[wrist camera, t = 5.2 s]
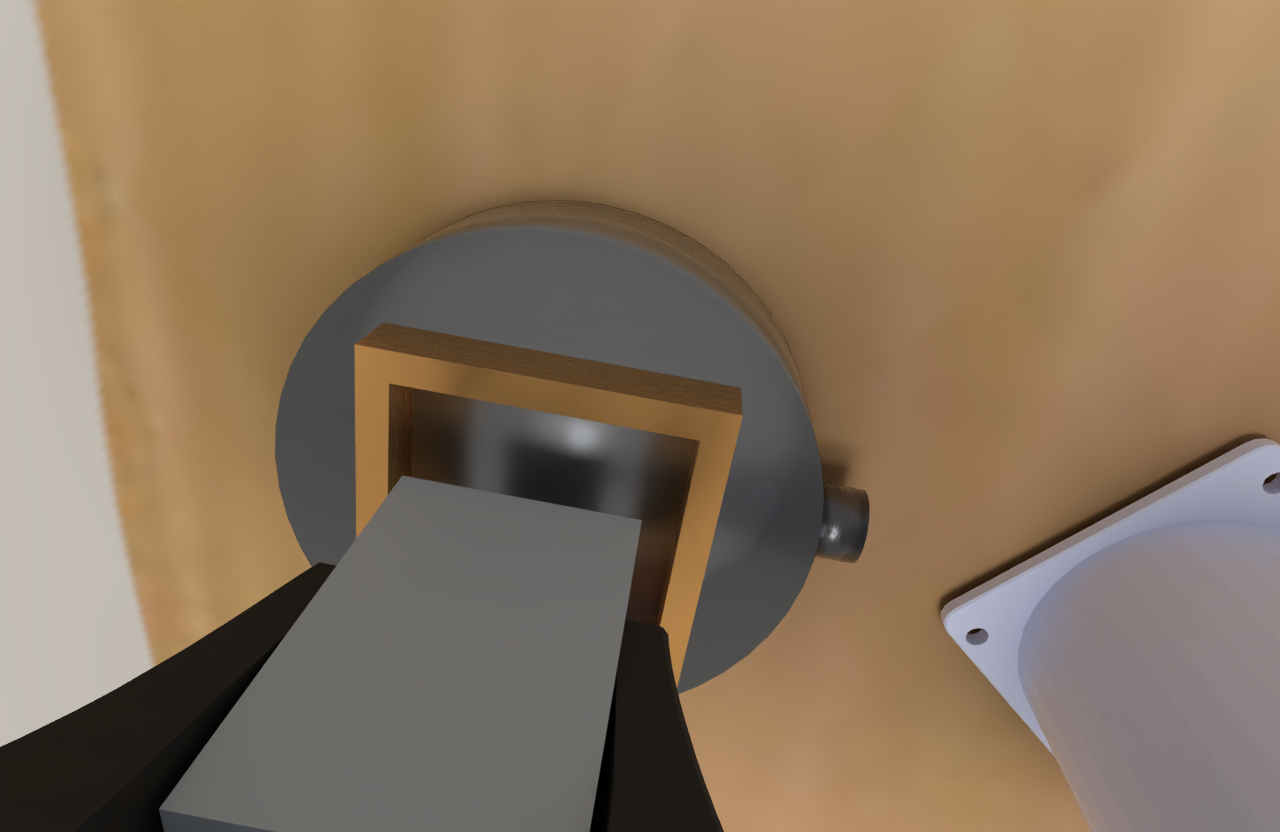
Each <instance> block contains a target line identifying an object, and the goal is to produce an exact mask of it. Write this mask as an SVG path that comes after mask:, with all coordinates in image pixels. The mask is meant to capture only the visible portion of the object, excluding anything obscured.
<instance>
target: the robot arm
mask: <svg viewBox="0 0 1280 832" xmlns="http://www.w3.org/2000/svg"><path fill="white" fill-rule="evenodd" d="M1275 473H1278V474H1277V476H1276V478H1275V479H1274V480H1272V481H1271V482H1270V483H1267V484H1264V485H1263V483H1264V481H1265V479H1266V478H1267V477H1269V476H1270V475H1271V474H1275ZM335 567H336V565H331V564H326V563H321V562H319V563H318V564H316V565H314V566H313V567H311V568H310V569H308V570H306V571H305V572H303V573H302V574H300V575H299V576H297V577H296V578H294V579H293V580H291V581H290V582H288V583H286V584H285V585H283V586H282V587H280V588H279V589H277V590H276V591H274V592H273V593H271V594H270V595H268V596H267V597H265V598H264V599H262V600H261V601H259V602H258V603H256V604H255V605H253V606H252V607H250V608H248V609H247V610H245V611H244V612H242V613H241V614H239V615H238V616H236V617H235V618H233V619H232V620H230V621H228V622H227V623H225V624H224V625H222V626H221V627H219V628H217V629H216V630H214V631H213V632H211V633H209V634H208V635H206V636H205V637H203V638H202V639H200V640H198V641H197V642H195V643H194V644H192V645H191V646H189V647H187V648H186V649H184V650H182V651H181V652H179V653H177V654H176V655H174V656H172V657H170V658H169V659H167V660H165V661H164V662H162V663H160V664H158V665H157V666H155V667H153V668H152V669H150V670H148V671H146V672H145V673H143V674H141V675H140V676H138V677H136V678H134V679H133V680H131V681H129V682H128V683H126V684H124V685H122V686H121V687H119V688H117V689H115V690H113V691H112V692H110V693H108V694H106V695H104V696H102V697H101V698H99V699H97V700H95V701H93V702H91V703H89V704H87V705H85V706H83V707H81V708H80V709H78V710H76V711H74V712H72V713H70V714H68V715H66V716H64V717H62V718H60V719H58V720H56V721H54V722H52V723H50V724H48V725H45V726H43V727H42V728H40V729H38V730H36V731H33V732H31V733H29V734H27V735H25V736H23V737H21V738H19V739H17V740H15V741H12V742H10V743H8V744H6V745H4V746H1V747H0V832H164V829H163V825H162V820H161V816H160V811H159V808H160V807H161V806H162V804H163V803H164V802H165V800H166V799H167V797H168V796H169V795H170V793H171V792H172V791H173V789H174V788H175V786H176V785H177V784H178V782H179V781H180V780H181V778H182V777H183V776H184V774H185V773H186V771H187V770H188V769H189V767H190V766H191V765H192V763H193V762H194V760H195V759H196V758H197V756H198V755H199V754H200V752H201V751H202V749H203V748H204V747H205V745H206V744H207V743H208V741H209V740H210V739H211V737H212V736H213V734H214V733H215V732H216V730H217V729H218V728H219V726H220V725H221V723H222V722H223V721H224V719H225V718H226V717H227V715H228V714H229V712H230V711H231V710H232V708H233V707H234V706H235V704H236V703H237V702H238V700H239V699H240V697H241V696H242V695H243V693H244V692H245V691H246V689H247V688H248V686H249V685H250V684H251V682H252V681H253V680H254V678H255V677H256V675H257V674H258V673H259V671H260V670H261V669H262V667H263V666H264V665H265V663H266V662H267V660H268V659H269V658H270V656H271V655H272V654H273V652H274V651H275V649H276V648H277V647H278V645H279V644H280V643H281V641H282V640H283V638H284V637H285V636H286V634H287V633H288V632H289V630H290V629H291V628H292V626H293V625H294V623H295V622H296V621H297V619H298V618H299V617H300V615H301V614H302V612H303V611H304V610H305V608H306V607H307V606H308V604H309V603H310V601H311V600H312V599H313V597H314V596H315V595H316V593H317V592H318V591H319V589H320V588H321V586H322V585H323V584H324V582H325V581H326V580H327V578H328V577H329V575H330V574H331V573H332V571H333V570H334V569H335ZM941 620H942V622H943V625H944V627H945V629H946V631H947V633H948V634H949V635H950V636H951V637H952V638H953V639H954V641H955V642H956V643H957V644H958V645H959V646H960V648H961V649H962V650H963V651H964V652H965V653H966V655H967V656H968V657H969V658H970V659H971V660H972V662H973V663H974V664H975V665H976V666H977V667H978V669H979V670H980V671H981V672H982V673H983V674H984V676H985V677H986V678H987V679H988V680H989V681H990V682H991V684H992V685H993V686H994V687H995V688H996V689H997V691H998V692H999V693H1000V694H1001V695H1002V696H1003V698H1004V699H1005V700H1006V701H1007V702H1008V703H1009V705H1010V706H1011V707H1012V708H1013V709H1014V710H1015V712H1016V713H1017V714H1018V715H1019V716H1020V717H1021V719H1022V720H1023V721H1024V722H1025V723H1026V724H1027V725H1028V727H1029V728H1030V729H1031V730H1032V731H1033V732H1034V734H1035V735H1036V736H1037V737H1038V738H1039V739H1040V741H1041V742H1042V743H1043V744H1044V745H1045V746H1046V748H1047V749H1048V750H1049V751H1050V752H1051V753H1052V755H1053V756H1054V757H1055V758H1056V760H1057V762H1058V764H1059V767H1060V769H1061V771H1062V773H1063V775H1064V777H1065V779H1066V781H1067V783H1068V785H1069V787H1070V789H1071V791H1072V793H1073V795H1074V797H1075V800H1076V802H1077V804H1078V806H1079V808H1080V810H1081V812H1082V814H1083V816H1084V818H1085V820H1086V822H1087V824H1088V826H1089V828H1090V831H1091V832H1280V444H1278V443H1277V442H1275V441H1273V440H1270V439H1266V438H1263V439H1254V440H1251V441H1249V442H1246V443H1244V444H1242V445H1240V446H1238V447H1236V448H1235V449H1233V450H1231V451H1229V452H1227V453H1225V454H1223V455H1222V456H1220V457H1218V458H1216V459H1214V460H1212V461H1210V462H1209V463H1207V464H1205V465H1203V466H1201V467H1199V468H1197V469H1195V470H1194V471H1192V472H1190V473H1188V474H1186V475H1184V476H1182V477H1181V478H1179V479H1177V480H1175V481H1173V482H1171V483H1169V484H1168V485H1166V486H1164V487H1162V488H1160V489H1158V490H1156V491H1155V492H1153V493H1151V494H1149V495H1147V496H1145V497H1143V498H1142V499H1140V500H1138V501H1136V502H1134V503H1132V504H1130V505H1128V506H1127V507H1125V508H1123V509H1121V510H1119V511H1117V512H1115V513H1114V514H1112V515H1110V516H1108V517H1106V518H1104V519H1102V520H1101V521H1099V522H1097V523H1095V524H1093V525H1091V526H1089V527H1088V528H1086V529H1084V530H1082V531H1080V532H1078V533H1076V534H1075V535H1073V536H1071V537H1069V538H1067V539H1065V540H1063V541H1061V542H1060V543H1058V544H1056V545H1054V546H1052V547H1050V548H1048V549H1047V550H1045V551H1043V552H1041V553H1039V554H1037V555H1035V556H1034V557H1032V558H1030V559H1028V560H1026V561H1024V562H1022V563H1021V564H1019V565H1017V566H1015V567H1013V568H1011V569H1009V570H1008V571H1006V572H1004V573H1002V574H1000V575H998V576H996V577H994V578H993V579H991V580H989V581H987V582H985V583H983V584H981V585H980V586H978V587H976V588H974V589H972V590H970V591H968V592H967V593H965V594H963V595H961V596H959V597H957V598H955V599H954V600H952V601H950V602H949V603H948V604H946V605H945V606H944V608H943V609H942V611H941ZM976 628H980V629H982V630H980V631H979V632H978V633H975V634H967V633H968V632H969V631H970V630H972V629H976ZM590 832H724V831H723V829H722V826H721V824H720V821H719V819H718V816H717V814H716V811H715V808H714V806H713V803H712V800H711V798H710V795H709V792H708V790H707V787H706V784H705V781H704V779H703V776H702V773H701V770H700V767H699V764H698V761H697V758H696V755H695V752H694V748H693V745H692V742H691V739H690V735H689V732H688V729H687V725H686V722H685V719H684V715H683V711H682V707H681V704H680V700H679V695H678V691H677V687H676V682H675V678H674V673H673V668H672V662H671V655H670V648H669V634H668V633H667V632H666V631H665V629H664V628H663V627H660V626H655V625H650V624H644V623H639V622H634V621H628V620H625V624H624V630H623V635H622V641H621V647H620V653H619V659H618V665H617V671H616V677H615V683H614V689H613V695H612V701H611V707H610V713H609V719H608V725H607V731H606V737H605V743H604V749H603V755H602V761H601V767H600V773H599V779H598V784H597V790H596V796H595V802H594V808H593V814H592V820H591V826H590Z"/></svg>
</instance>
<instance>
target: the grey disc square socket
mask: <svg viewBox="0 0 1280 832" xmlns="http://www.w3.org/2000/svg"><path fill="white" fill-rule="evenodd" d="M275 458H276V465H277V473H278V480H279V488H280V491H281V495H282V498H283V502H284V506H285V509H286V513H287V516H288V519H289V521H290V524H291V526H292V529H293V531H294V533H295V536H296V538H297V540H298V543H299V545H300V547H301V549H302V551H303V552H304V554H305V556H306V557H307V559H308V561H309V563H310V564H311V566H312V567H313V566H314V565H316V564H318V563H319V562H321V563H326V564H331V565H336V566H337V564H338V563H339V562H340V560H341V559H342V558H343V556H344V555H345V554H346V552H347V551H348V549H349V548H350V547H351V545H352V544H353V543H354V541H355V540H356V538H357V537H358V536H359V534H360V533H361V532H362V530H363V529H364V527H365V526H366V525H367V523H368V522H369V521H370V519H371V518H372V517H373V515H374V514H375V512H376V511H377V510H378V508H379V507H380V506H381V504H382V503H383V501H384V500H385V499H386V497H387V496H388V495H389V493H390V492H391V490H392V489H393V488H394V486H395V485H396V484H397V482H398V481H399V480H400V478H401V477H402V476H407V477H413V478H418V479H423V480H429V481H434V482H440V483H445V484H450V485H456V486H461V487H466V488H472V489H477V490H482V491H488V492H493V493H499V494H504V495H509V496H515V497H520V498H525V499H531V500H536V501H541V502H547V503H552V504H558V505H563V506H568V507H574V508H579V509H584V510H590V511H595V512H600V513H606V514H611V515H617V516H622V517H627V518H633V519H638V520H642V522H641V528H640V534H639V540H638V546H637V552H636V558H635V564H634V570H633V576H632V582H631V588H630V594H629V600H628V606H627V612H626V618H625V620H628V621H634V622H639V623H644V624H650V625H655V626H660V627H663V628H664V629H665V631H666V632H667V633H668V634H669V648H670V655H671V662H672V668H673V673H674V678H675V682H676V687H677V691H678V694H679V693H682V692H684V691H687V690H690V689H692V688H695V687H697V686H699V685H701V684H703V683H705V682H707V681H708V680H710V679H712V678H714V677H716V676H718V675H720V674H721V673H723V672H725V671H726V670H728V669H729V668H730V667H732V666H733V665H735V664H736V663H737V662H739V661H740V660H742V659H743V658H744V657H746V656H747V655H748V654H749V653H751V652H752V651H753V650H754V649H755V648H756V647H757V646H758V645H759V644H760V643H761V642H762V641H763V640H764V639H765V638H767V637H768V636H769V635H770V633H771V632H772V631H773V630H774V629H775V627H776V626H777V625H778V624H779V622H780V621H781V620H782V619H783V617H784V616H785V615H786V614H787V612H788V611H789V609H790V608H791V606H792V604H793V603H794V601H795V599H796V597H797V596H798V594H799V592H800V591H801V589H802V587H803V585H804V583H805V580H806V578H807V575H808V573H809V570H810V568H811V566H812V563H813V561H814V558H815V556H816V557H821V558H826V559H832V560H837V561H842V562H848V563H854V562H856V561H857V559H858V558H859V556H860V554H861V552H862V550H863V547H864V544H865V540H866V536H867V531H868V524H869V500H868V495H867V493H866V491H864V490H861V489H856V488H850V487H845V486H839V485H834V484H829V483H823V478H822V466H821V460H820V456H819V451H818V447H817V443H816V439H815V435H814V431H813V427H812V423H811V419H810V415H809V411H808V407H807V403H806V399H805V395H804V392H803V388H802V384H801V380H800V376H799V372H798V369H797V366H796V364H795V361H794V359H793V356H792V354H791V351H790V349H789V346H788V344H787V341H786V339H785V338H784V336H783V334H782V332H781V331H780V329H779V327H778V325H777V324H776V322H775V320H774V318H773V317H772V315H771V313H770V312H769V311H768V309H767V308H766V307H765V305H764V304H763V303H762V302H761V300H760V299H759V298H758V296H757V295H756V294H755V293H754V291H753V290H752V289H751V287H750V286H749V285H748V284H747V283H746V282H745V281H744V280H743V279H741V278H740V277H739V276H738V275H737V274H736V273H735V272H734V271H733V270H732V269H731V268H730V267H729V266H728V265H727V264H726V263H725V262H723V261H722V260H721V259H719V258H718V257H717V256H715V255H714V254H713V253H711V252H710V251H709V250H707V249H706V248H705V247H703V246H702V245H701V244H699V243H698V242H696V241H694V240H692V239H691V238H689V237H687V236H685V235H683V234H682V233H680V232H678V231H676V230H674V229H673V228H671V227H669V226H667V225H664V224H662V223H659V222H657V221H654V220H652V219H649V218H647V217H644V216H642V215H639V214H637V213H633V212H629V211H625V210H621V209H617V208H613V207H609V206H605V205H601V204H593V203H584V202H575V201H531V202H525V203H519V204H513V205H507V206H501V207H497V208H494V209H491V210H487V211H484V212H481V213H478V214H475V215H472V216H468V217H466V218H464V219H462V220H460V221H458V222H456V223H454V224H452V225H449V226H447V227H445V228H443V229H441V230H439V231H437V232H436V233H434V234H432V235H431V236H429V237H427V238H426V239H424V240H422V241H421V242H419V243H417V244H415V245H414V246H412V247H410V248H409V249H407V250H405V251H404V252H402V253H400V254H399V255H397V256H395V257H394V258H392V259H390V260H388V261H387V262H385V263H383V264H382V265H380V266H379V267H377V268H376V269H374V270H373V271H372V272H370V273H369V274H367V275H366V276H364V277H363V278H361V279H360V280H358V281H357V282H356V283H354V284H353V285H351V286H350V287H349V288H348V289H347V290H346V291H345V292H344V293H343V294H342V295H341V296H340V297H339V298H338V299H337V300H336V301H335V302H333V303H332V304H331V305H330V306H329V307H328V308H327V309H326V310H325V312H324V313H323V314H322V316H321V317H320V318H319V320H318V321H317V322H316V324H315V325H314V326H313V328H312V329H311V330H310V332H309V333H308V334H307V336H306V337H305V339H304V341H303V343H302V345H301V347H300V349H299V351H298V352H297V354H296V356H295V358H294V360H293V362H292V364H291V366H290V369H289V372H288V375H287V378H286V381H285V384H284V387H283V390H282V393H281V397H280V403H279V410H278V416H277V422H276V449H275Z"/></svg>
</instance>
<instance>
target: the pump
mask: <svg viewBox="0 0 1280 832" xmlns="http://www.w3.org/2000/svg"><path fill="white" fill-rule="evenodd" d="M641 522H642V520H638V519H633V518H627V517H622V516H617V515H611V514H606V513H600V512H595V511H590V510H584V509H579V508H574V507H568V506H563V505H558V504H552V503H547V502H541V501H536V500H531V499H525V498H520V497H515V496H509V495H504V494H499V493H493V492H488V491H482V490H477V489H472V488H466V487H461V486H456V485H450V484H445V483H440V482H434V481H429V480H423V479H418V478H413V477H407V476H402V477H401V478H400V480H399V481H398V482H397V484H396V485H395V486H394V488H393V489H392V490H391V492H390V493H389V495H388V496H387V497H386V499H385V500H384V501H383V503H382V504H381V506H380V507H379V508H378V510H377V511H376V512H375V514H374V515H373V517H372V518H371V519H370V521H369V522H368V523H367V525H366V526H365V527H364V529H363V530H362V532H361V533H360V534H359V536H358V537H357V538H356V540H355V541H354V543H353V544H352V545H351V547H350V548H349V549H348V551H347V552H346V554H345V555H344V556H343V558H342V559H341V560H340V562H339V563H338V564H337V566H336V567H335V569H334V570H333V571H332V573H331V574H330V575H329V577H328V578H327V580H326V581H325V582H324V584H323V585H322V586H321V588H320V589H319V591H318V592H317V593H316V595H315V596H314V597H313V599H312V600H311V601H310V603H309V604H308V606H307V607H306V608H305V610H304V611H303V612H302V614H301V615H300V617H299V618H298V619H297V621H296V622H295V623H294V625H293V626H292V628H291V629H290V630H289V632H288V633H287V634H286V636H285V637H284V638H283V640H282V641H281V643H280V644H279V645H278V647H277V648H276V649H275V651H274V652H273V654H272V655H271V656H270V658H269V659H268V660H267V662H266V663H265V665H264V666H263V667H262V669H261V670H260V671H259V673H258V674H257V675H256V677H255V678H254V680H253V681H252V682H251V684H250V685H249V686H248V688H247V689H246V691H245V692H244V693H243V695H242V696H241V697H240V699H239V700H238V702H237V703H236V704H235V706H234V707H233V708H232V710H231V711H230V712H229V714H228V715H227V717H226V718H225V719H224V721H223V722H222V723H221V725H220V726H219V728H218V729H217V730H216V732H215V733H214V734H213V736H212V737H211V739H210V740H209V741H208V743H207V744H206V745H205V747H204V748H203V749H202V751H201V752H200V754H199V755H198V756H197V758H196V759H195V760H194V762H193V763H192V765H191V766H190V767H189V769H188V770H187V771H186V773H185V774H184V776H183V777H182V778H181V780H180V781H179V782H178V784H177V785H176V786H175V788H174V789H173V791H172V792H171V793H170V795H169V796H168V797H167V799H166V800H165V802H164V803H163V804H162V806H161V807H160V808H159V811H160V816H161V820H162V825H163V829H164V832H590V826H591V820H592V814H593V808H594V802H595V796H596V790H597V784H598V779H599V773H600V767H601V761H602V755H603V749H604V743H605V737H606V731H607V725H608V719H609V713H610V707H611V701H612V695H613V689H614V683H615V677H616V671H617V665H618V659H619V653H620V647H621V641H622V635H623V630H624V624H625V618H626V612H627V606H628V600H629V594H630V588H631V582H632V576H633V570H634V564H635V558H636V552H637V546H638V540H639V534H640V528H641Z"/></svg>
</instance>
